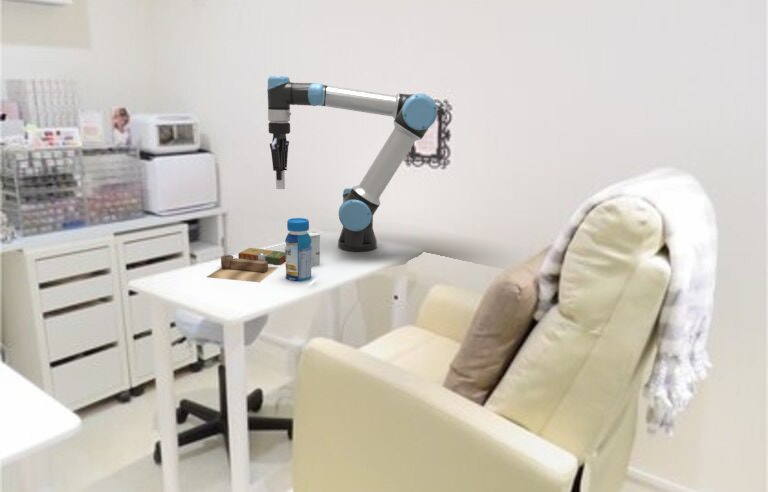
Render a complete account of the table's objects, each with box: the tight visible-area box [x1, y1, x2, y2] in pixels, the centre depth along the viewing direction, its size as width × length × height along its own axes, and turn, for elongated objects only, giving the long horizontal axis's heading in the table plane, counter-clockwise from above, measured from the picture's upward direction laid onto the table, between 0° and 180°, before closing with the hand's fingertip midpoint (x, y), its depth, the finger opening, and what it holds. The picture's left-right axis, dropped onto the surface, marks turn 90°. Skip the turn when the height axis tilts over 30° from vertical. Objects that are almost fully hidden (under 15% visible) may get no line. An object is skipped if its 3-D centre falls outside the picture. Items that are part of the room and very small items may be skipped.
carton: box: [238, 247, 286, 266], centre depth 206 cm, size 8×16×4 cm, turn 73°
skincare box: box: [308, 231, 321, 268], centre depth 201 cm, size 6×4×12 cm
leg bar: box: [220, 253, 269, 272], centre depth 194 cm, size 16×4×4 cm, turn 76°
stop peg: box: [258, 253, 266, 261], centre depth 196 cm, size 2×2×5 cm
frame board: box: [206, 266, 279, 283], centre depth 192 cm, size 18×16×1 cm
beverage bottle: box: [284, 217, 313, 282], centre depth 186 cm, size 8×8×20 cm
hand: (280, 188), depth 212 cm, fingers closed
